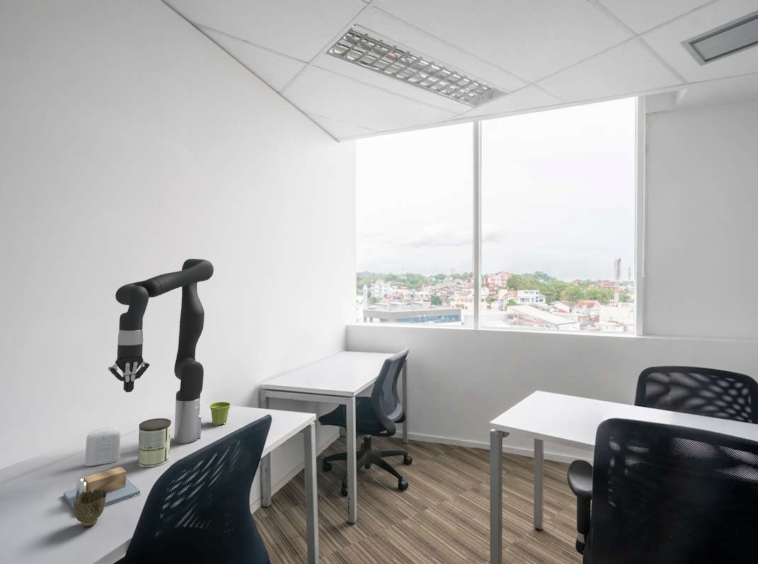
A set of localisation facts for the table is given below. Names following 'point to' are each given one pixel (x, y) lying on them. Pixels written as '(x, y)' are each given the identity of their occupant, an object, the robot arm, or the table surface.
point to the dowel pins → (80, 486)
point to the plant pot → (219, 412)
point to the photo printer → (102, 446)
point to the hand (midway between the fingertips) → (128, 391)
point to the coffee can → (154, 442)
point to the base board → (108, 494)
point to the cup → (89, 506)
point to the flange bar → (106, 480)
